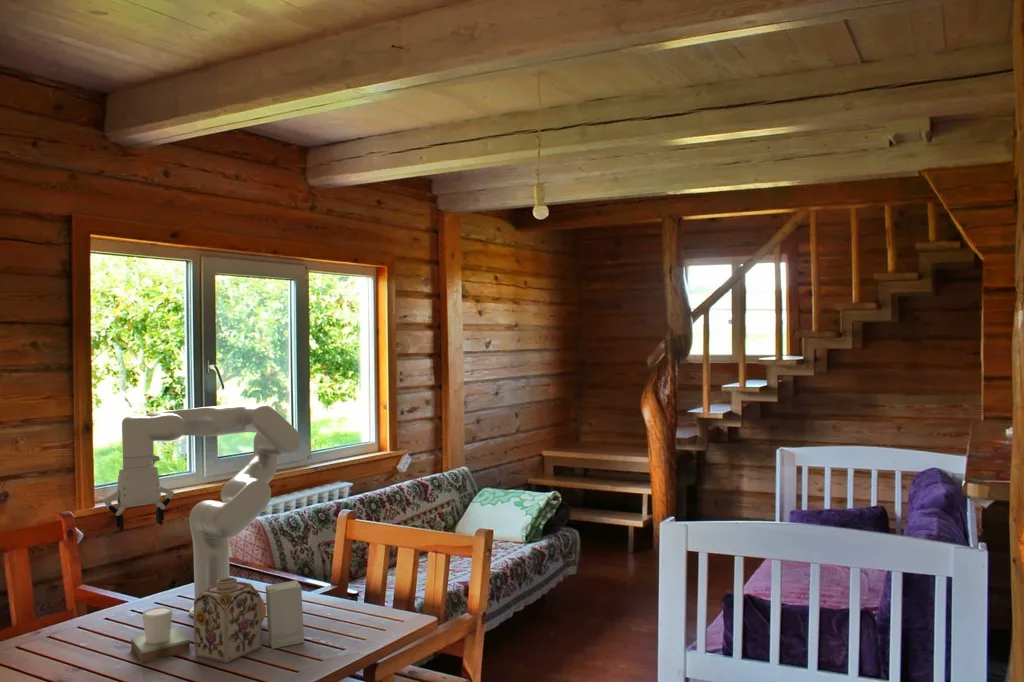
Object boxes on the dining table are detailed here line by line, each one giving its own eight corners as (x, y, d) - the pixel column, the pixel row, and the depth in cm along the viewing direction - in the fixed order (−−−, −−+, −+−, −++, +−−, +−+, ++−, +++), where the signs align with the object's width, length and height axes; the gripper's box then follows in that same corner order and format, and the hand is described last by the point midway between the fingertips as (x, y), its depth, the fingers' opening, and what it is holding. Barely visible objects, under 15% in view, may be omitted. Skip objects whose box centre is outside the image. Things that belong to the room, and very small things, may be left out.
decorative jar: (226, 664, 195) (224, 589, 195) (193, 656, 200) (191, 583, 200) (264, 647, 205) (262, 575, 205) (231, 640, 211) (229, 570, 211)
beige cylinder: (161, 645, 200) (160, 616, 200) (137, 643, 202) (136, 615, 201) (178, 635, 207) (178, 607, 207) (154, 633, 208) (154, 606, 208)
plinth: (177, 639, 212) (176, 627, 212) (189, 651, 203) (189, 639, 203) (131, 650, 205) (131, 638, 205) (142, 663, 197) (142, 650, 197)
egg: (262, 621, 225) (261, 588, 225) (269, 628, 219) (268, 594, 219) (237, 626, 221) (236, 593, 221) (244, 633, 215) (243, 599, 215)
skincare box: (299, 636, 212) (298, 579, 212) (304, 643, 207) (303, 585, 207) (266, 642, 209) (265, 584, 208) (270, 650, 203) (268, 590, 203)
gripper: (168, 457, 226) (170, 519, 226) (99, 464, 215) (101, 529, 215) (176, 460, 220) (178, 523, 220) (106, 467, 209) (107, 534, 209)
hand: (140, 526), depth 218 cm, fingers open, 9 cm apart
